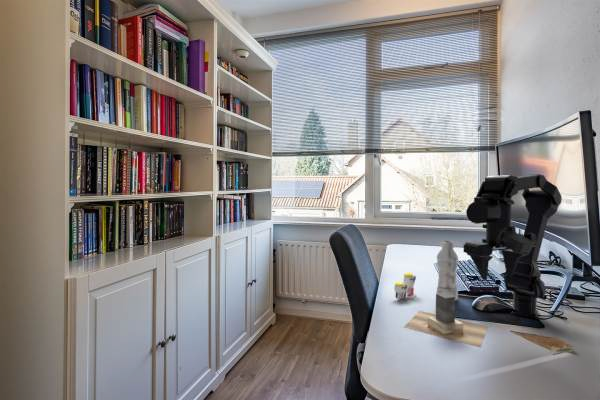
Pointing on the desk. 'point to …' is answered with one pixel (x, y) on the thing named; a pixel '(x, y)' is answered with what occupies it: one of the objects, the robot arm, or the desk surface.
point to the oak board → (470, 334)
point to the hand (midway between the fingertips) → (497, 278)
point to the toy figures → (405, 287)
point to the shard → (547, 342)
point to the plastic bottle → (447, 269)
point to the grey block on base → (445, 316)
